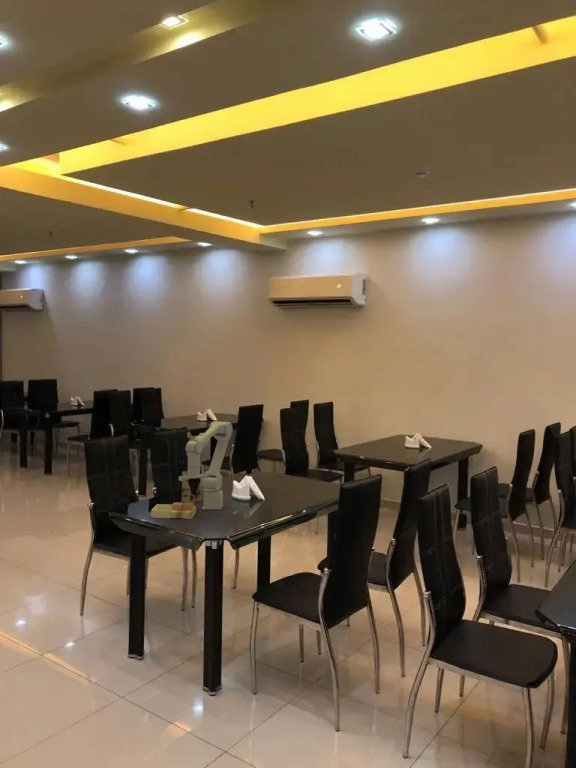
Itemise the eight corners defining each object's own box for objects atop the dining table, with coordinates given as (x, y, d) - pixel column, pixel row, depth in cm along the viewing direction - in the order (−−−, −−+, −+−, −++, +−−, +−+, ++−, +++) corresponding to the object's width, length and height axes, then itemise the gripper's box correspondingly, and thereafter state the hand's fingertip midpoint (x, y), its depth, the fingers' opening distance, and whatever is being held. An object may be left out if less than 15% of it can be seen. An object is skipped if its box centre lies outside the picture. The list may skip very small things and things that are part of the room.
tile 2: (193, 508, 297) (193, 502, 297) (192, 510, 293) (192, 505, 293) (184, 507, 297) (184, 502, 297) (182, 510, 293) (182, 504, 293)
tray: (175, 511, 302) (175, 504, 301) (170, 518, 289) (170, 510, 289) (156, 511, 302) (157, 504, 301) (150, 518, 289) (150, 510, 289)
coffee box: (191, 503, 319) (191, 472, 318) (181, 502, 322) (181, 471, 322) (201, 500, 327) (202, 469, 326) (192, 498, 330) (192, 468, 330)
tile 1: (183, 507, 297) (183, 502, 297) (181, 510, 293) (181, 504, 293) (174, 507, 297) (174, 502, 297) (172, 509, 293) (172, 504, 293)
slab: (195, 512, 302) (196, 505, 301) (191, 518, 289) (191, 512, 288) (175, 511, 302) (175, 505, 302) (170, 518, 289) (170, 512, 289)
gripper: (203, 463, 303) (203, 491, 304) (176, 466, 295) (176, 494, 296) (210, 465, 298) (210, 493, 298) (182, 468, 290) (182, 497, 290)
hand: (193, 494), depth 297 cm, fingers closed
